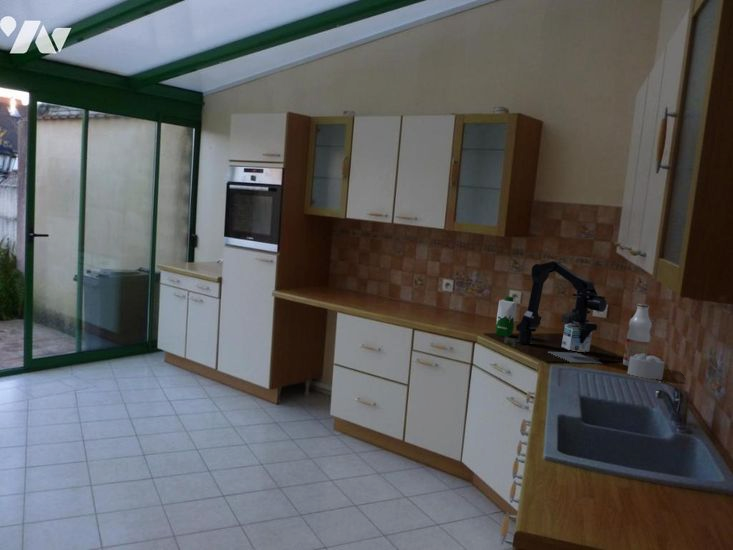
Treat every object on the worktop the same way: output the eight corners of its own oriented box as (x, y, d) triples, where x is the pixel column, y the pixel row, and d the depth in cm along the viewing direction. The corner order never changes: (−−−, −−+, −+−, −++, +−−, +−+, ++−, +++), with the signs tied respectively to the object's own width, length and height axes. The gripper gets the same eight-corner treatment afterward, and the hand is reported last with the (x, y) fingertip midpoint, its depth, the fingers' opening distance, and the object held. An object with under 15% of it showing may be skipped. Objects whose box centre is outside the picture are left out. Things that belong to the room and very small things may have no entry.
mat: (548, 352, 283) (548, 351, 283) (577, 354, 287) (577, 353, 287) (570, 362, 265) (571, 361, 265) (602, 364, 270) (602, 362, 270)
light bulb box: (569, 350, 271) (573, 326, 270) (560, 346, 278) (564, 323, 277) (589, 351, 274) (593, 328, 273) (580, 348, 281) (584, 325, 280)
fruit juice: (634, 368, 267) (644, 305, 265) (618, 363, 276) (627, 302, 273) (650, 368, 271) (659, 306, 268) (633, 363, 280) (642, 303, 277)
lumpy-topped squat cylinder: (664, 380, 250) (668, 360, 249) (633, 377, 250) (636, 356, 249) (653, 374, 261) (656, 354, 260) (622, 370, 261) (626, 351, 260)
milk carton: (514, 335, 319) (519, 298, 317) (509, 337, 311) (514, 299, 309) (497, 332, 323) (502, 295, 321) (492, 334, 315) (497, 296, 313)
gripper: (554, 302, 281) (549, 336, 282) (578, 310, 263) (573, 345, 265) (575, 304, 284) (570, 337, 286) (600, 311, 266) (595, 346, 268)
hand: (576, 341), depth 276 cm, fingers closed on light bulb box, 7 cm apart
